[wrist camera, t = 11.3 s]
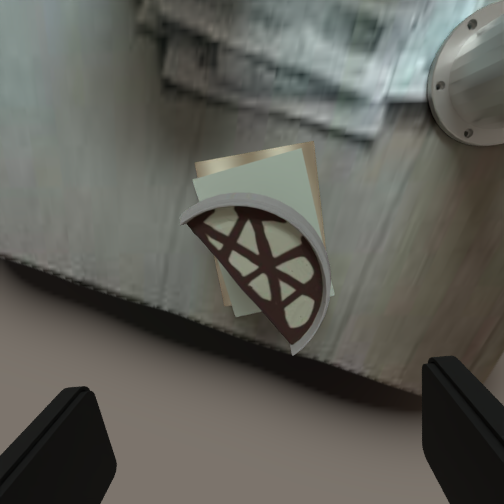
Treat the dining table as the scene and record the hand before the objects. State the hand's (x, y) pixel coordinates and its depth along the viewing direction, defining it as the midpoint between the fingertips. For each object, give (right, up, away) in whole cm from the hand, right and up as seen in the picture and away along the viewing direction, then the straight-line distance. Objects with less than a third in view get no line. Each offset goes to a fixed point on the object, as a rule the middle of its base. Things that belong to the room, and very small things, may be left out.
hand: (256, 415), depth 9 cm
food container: (+2, +6, +20) cm, 21 cm away
